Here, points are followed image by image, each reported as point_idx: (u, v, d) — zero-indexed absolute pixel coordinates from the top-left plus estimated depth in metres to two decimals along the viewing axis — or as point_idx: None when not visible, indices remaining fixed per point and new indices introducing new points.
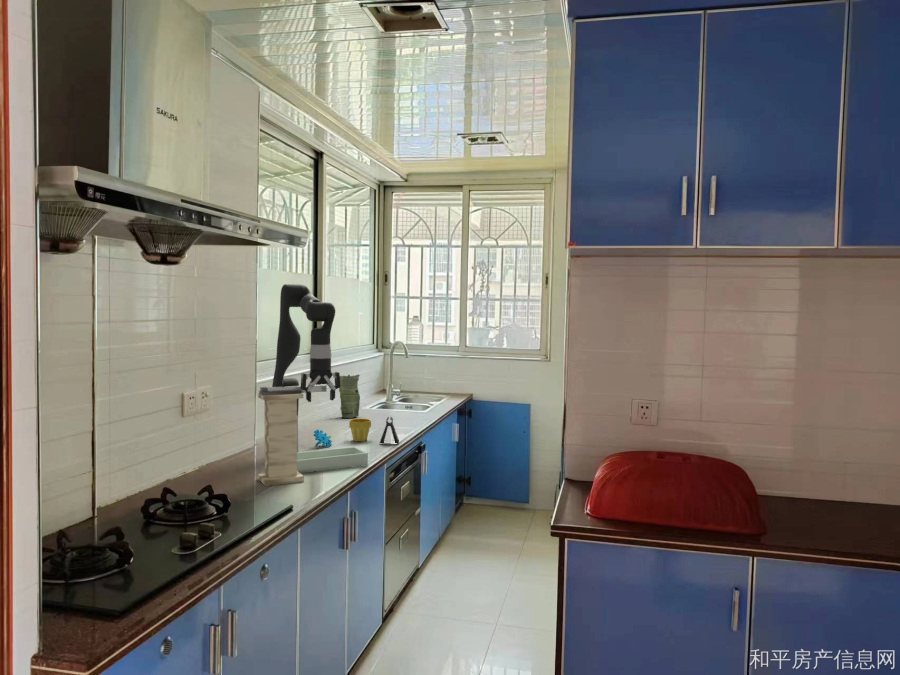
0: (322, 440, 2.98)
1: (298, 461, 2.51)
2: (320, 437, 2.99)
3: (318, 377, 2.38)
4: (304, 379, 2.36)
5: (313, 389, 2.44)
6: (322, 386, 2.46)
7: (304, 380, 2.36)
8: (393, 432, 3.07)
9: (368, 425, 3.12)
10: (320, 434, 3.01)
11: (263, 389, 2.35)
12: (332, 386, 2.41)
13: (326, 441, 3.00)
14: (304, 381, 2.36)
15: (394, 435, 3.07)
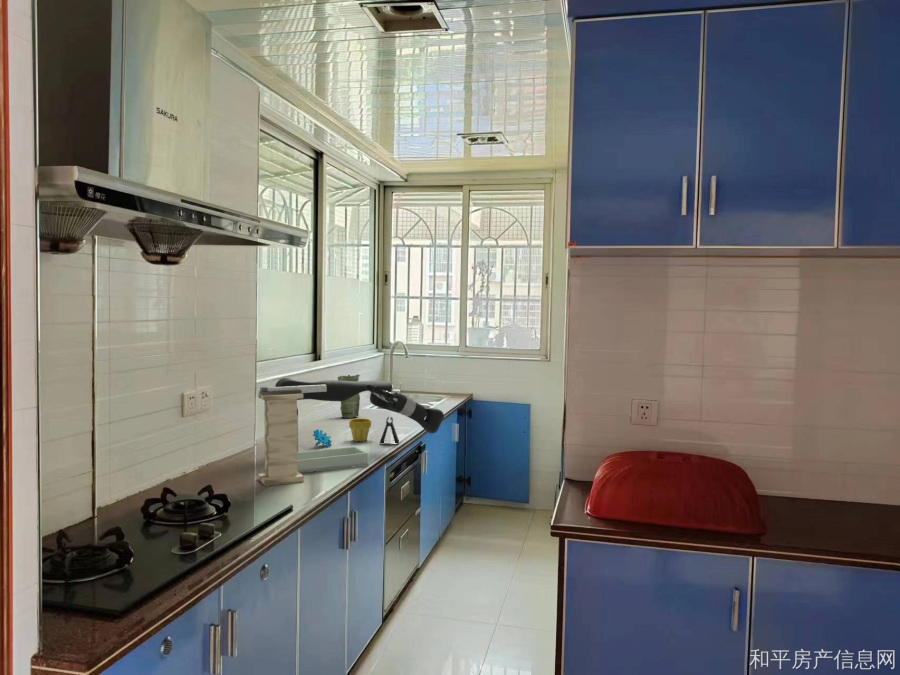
0: (322, 440, 2.98)
1: (298, 461, 2.51)
2: (320, 437, 2.99)
3: (387, 401, 2.67)
4: (391, 401, 2.63)
5: (313, 389, 2.44)
6: (322, 386, 2.46)
7: (390, 400, 2.63)
8: (393, 432, 3.07)
9: (368, 425, 3.12)
10: (320, 434, 3.01)
11: (263, 389, 2.35)
12: (375, 394, 2.71)
13: (326, 441, 3.00)
14: (390, 400, 2.63)
15: (394, 435, 3.07)
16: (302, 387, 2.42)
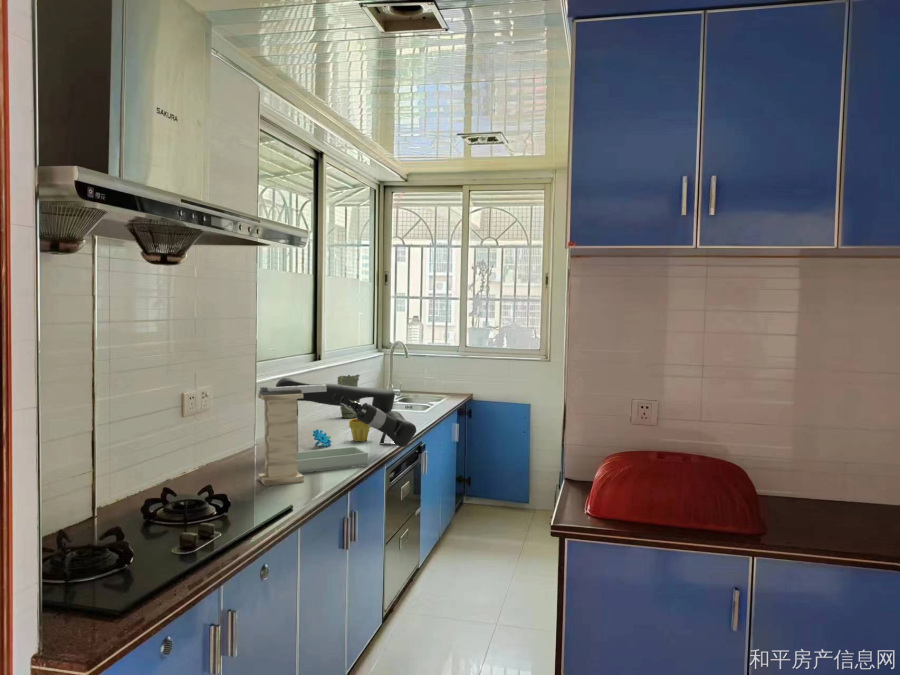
0: (321, 440, 2.98)
1: (298, 461, 2.51)
2: (319, 437, 2.99)
3: None
4: (359, 412, 2.48)
5: (313, 389, 2.44)
6: (322, 386, 2.46)
7: (359, 412, 2.48)
8: None
9: None
10: (319, 434, 3.01)
11: (263, 389, 2.35)
12: (343, 405, 2.56)
13: (325, 441, 3.00)
14: (358, 411, 2.48)
15: None
16: (302, 387, 2.42)
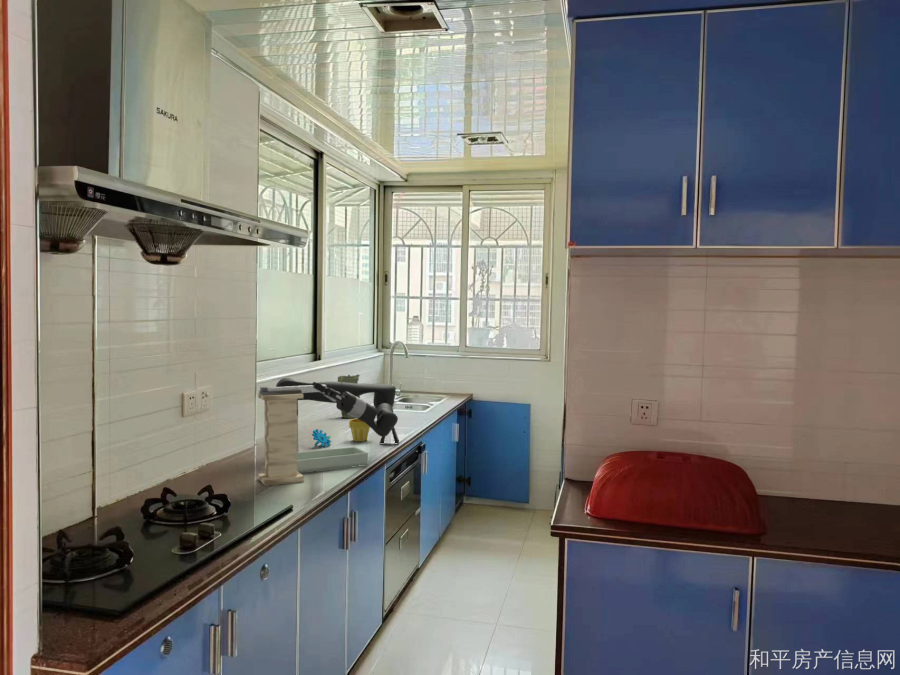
0: (320, 440, 2.99)
1: (298, 461, 2.51)
2: (319, 437, 2.99)
3: (334, 401, 2.48)
4: (334, 398, 2.44)
5: (313, 389, 2.44)
6: None
7: (333, 398, 2.44)
8: (393, 432, 3.07)
9: (368, 425, 3.12)
10: (319, 434, 3.01)
11: (263, 389, 2.35)
12: (322, 393, 2.49)
13: (325, 441, 3.00)
14: (332, 397, 2.44)
15: (394, 435, 3.07)
16: (302, 387, 2.42)
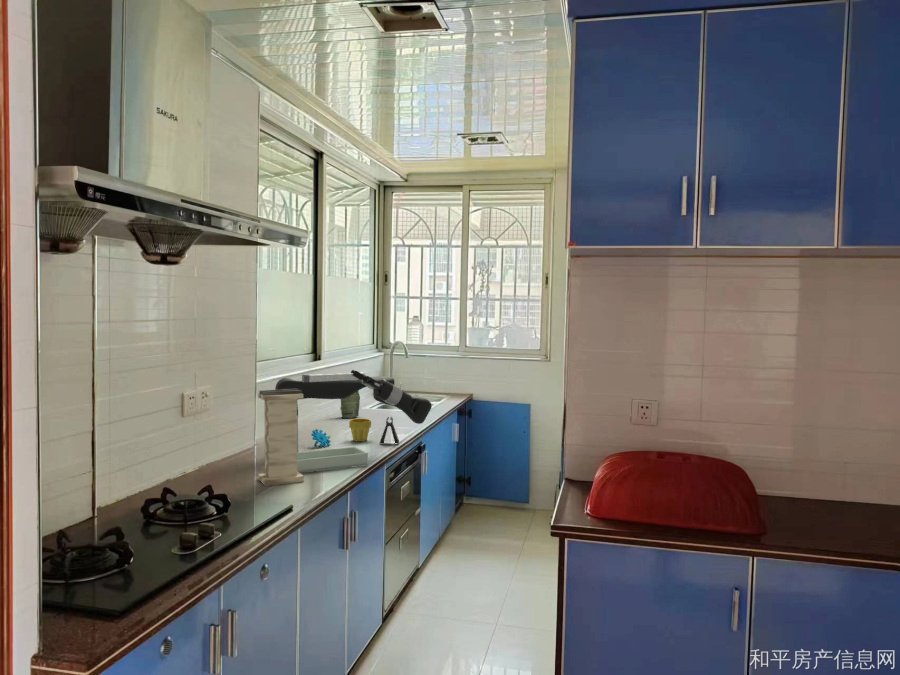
0: (320, 440, 2.99)
1: (298, 461, 2.51)
2: (318, 437, 3.00)
3: (372, 388, 2.55)
4: (372, 385, 2.51)
5: (352, 377, 2.51)
6: None
7: (372, 385, 2.51)
8: (393, 432, 3.07)
9: (368, 425, 3.12)
10: (318, 434, 3.02)
11: (305, 376, 2.42)
12: (360, 381, 2.56)
13: (324, 441, 3.00)
14: (371, 385, 2.51)
15: (394, 435, 3.07)
16: (342, 375, 2.49)
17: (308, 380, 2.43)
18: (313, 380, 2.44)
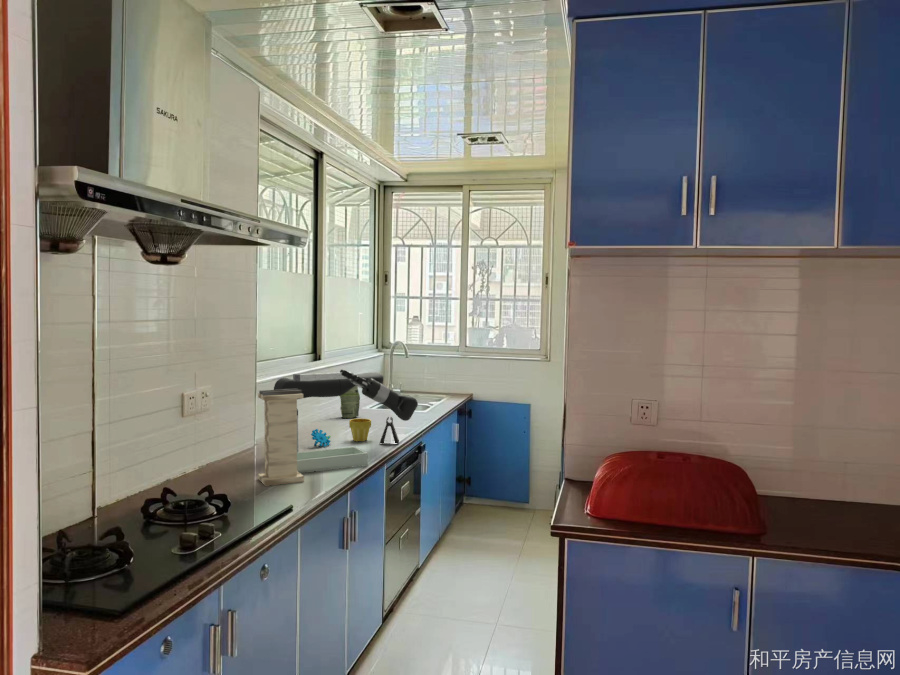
0: (319, 440, 2.99)
1: (298, 461, 2.51)
2: (318, 437, 3.00)
3: (360, 387, 2.68)
4: (360, 384, 2.64)
5: (341, 376, 2.64)
6: None
7: (359, 384, 2.64)
8: (393, 432, 3.07)
9: (368, 425, 3.12)
10: (318, 434, 3.02)
11: (296, 376, 2.55)
12: (349, 380, 2.69)
13: (324, 441, 3.01)
14: (359, 383, 2.64)
15: (394, 435, 3.07)
16: (331, 374, 2.62)
17: (299, 379, 2.55)
18: (304, 379, 2.56)
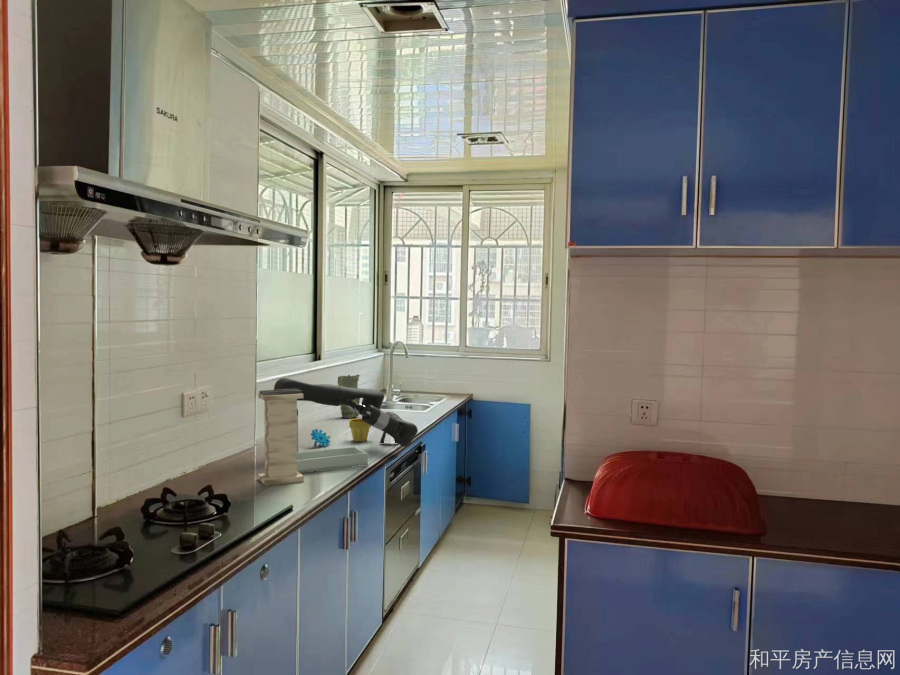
0: (319, 440, 2.99)
1: (298, 461, 2.51)
2: (317, 436, 3.00)
3: (360, 414, 2.68)
4: (364, 414, 2.64)
5: None
6: None
7: (364, 413, 2.64)
8: None
9: (368, 425, 3.12)
10: (318, 433, 3.02)
11: None
12: (349, 407, 2.72)
13: (323, 441, 3.01)
14: (363, 413, 2.64)
15: None
16: None
17: None
18: None
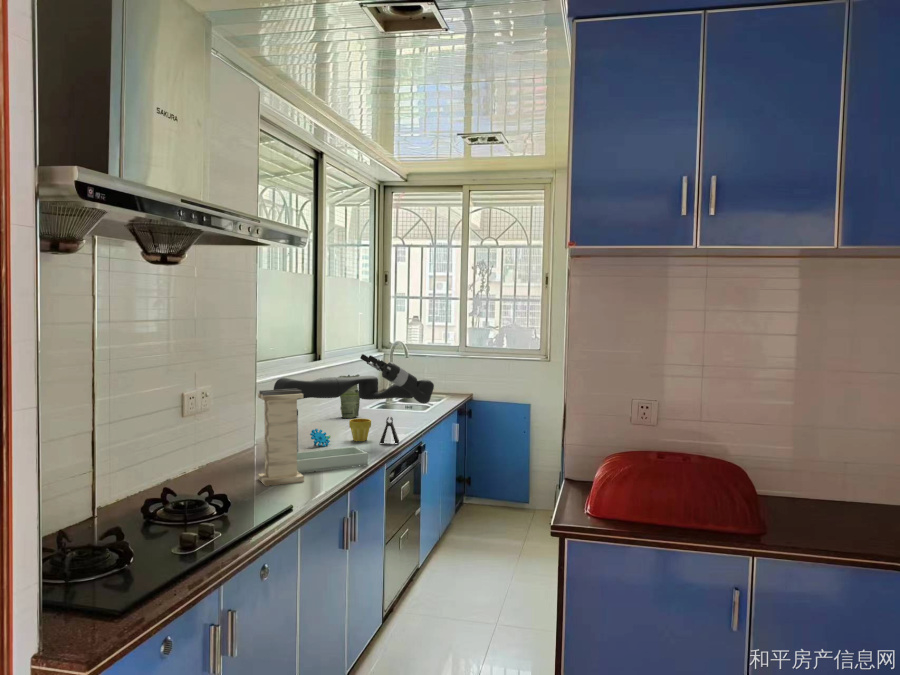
0: (318, 439, 2.99)
1: (298, 461, 2.51)
2: (317, 436, 3.00)
3: (381, 370, 2.80)
4: (385, 369, 2.75)
5: None
6: None
7: (384, 369, 2.75)
8: (393, 432, 3.07)
9: (368, 425, 3.12)
10: (318, 433, 3.02)
11: None
12: (370, 364, 2.83)
13: (323, 441, 3.01)
14: (384, 368, 2.75)
15: (394, 435, 3.07)
16: None
17: None
18: None
